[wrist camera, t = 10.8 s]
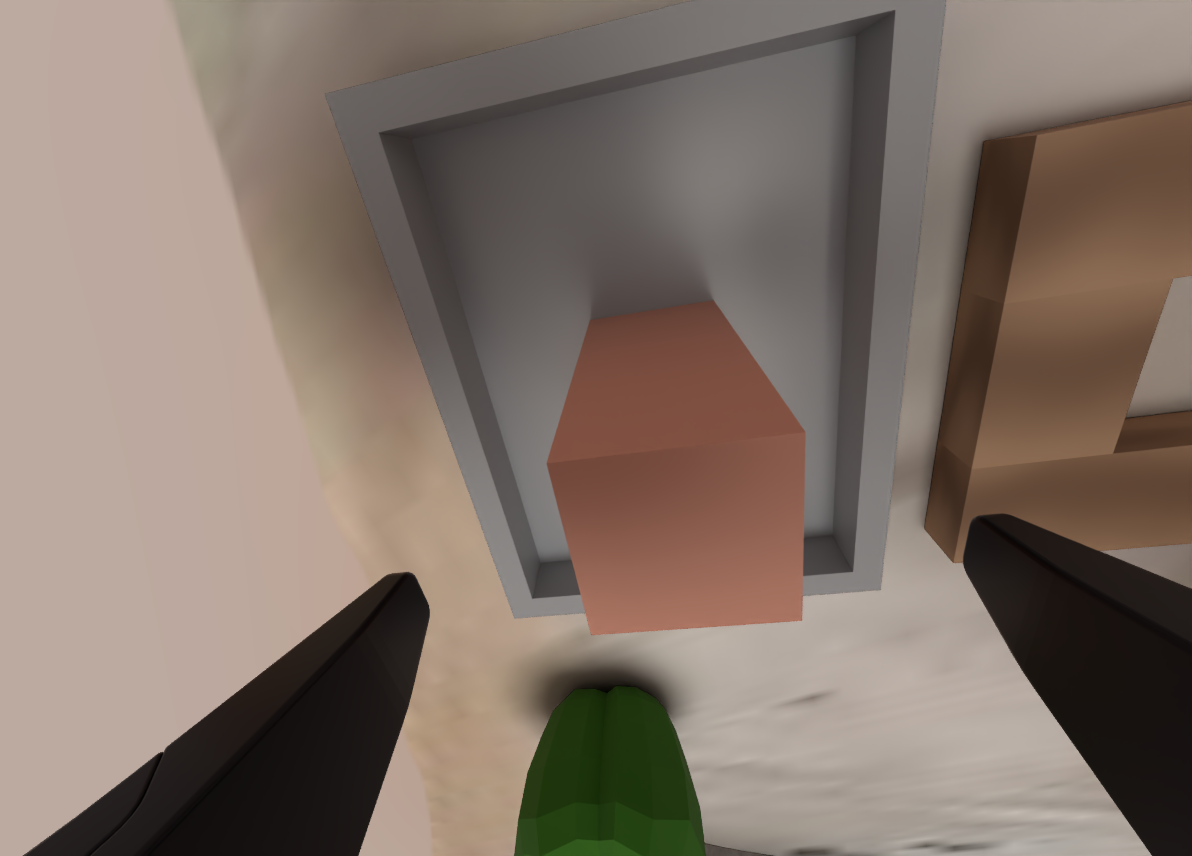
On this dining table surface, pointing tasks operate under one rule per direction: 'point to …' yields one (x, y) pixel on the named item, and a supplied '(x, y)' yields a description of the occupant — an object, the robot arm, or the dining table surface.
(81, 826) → the robot arm
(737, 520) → the brown tall block
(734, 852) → the hip flask
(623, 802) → the bell pepper
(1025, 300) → the socket block
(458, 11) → the dining table surface
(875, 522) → the tray
